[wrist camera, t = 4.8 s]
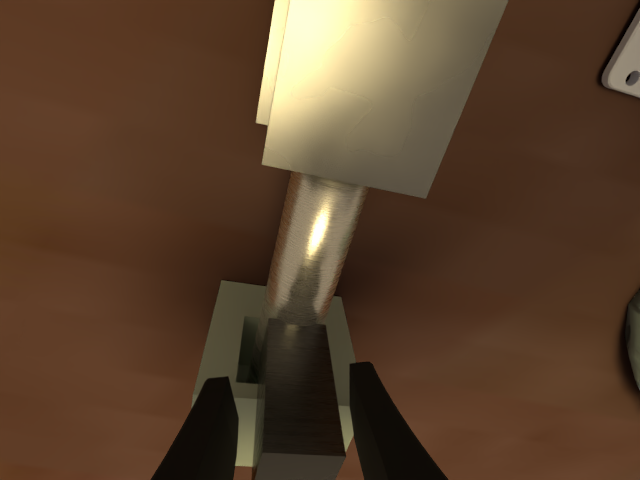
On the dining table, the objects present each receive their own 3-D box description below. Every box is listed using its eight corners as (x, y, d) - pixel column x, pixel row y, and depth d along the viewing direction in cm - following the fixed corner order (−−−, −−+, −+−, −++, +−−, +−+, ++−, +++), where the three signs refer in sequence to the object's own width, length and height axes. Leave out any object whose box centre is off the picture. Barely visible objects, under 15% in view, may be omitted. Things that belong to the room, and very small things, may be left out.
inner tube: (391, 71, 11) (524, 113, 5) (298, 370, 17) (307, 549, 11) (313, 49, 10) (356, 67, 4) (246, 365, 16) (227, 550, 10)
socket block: (341, 296, 18) (366, 407, 13) (321, 352, 20) (337, 469, 15) (221, 280, 17) (193, 394, 12) (212, 340, 19) (184, 463, 13)
